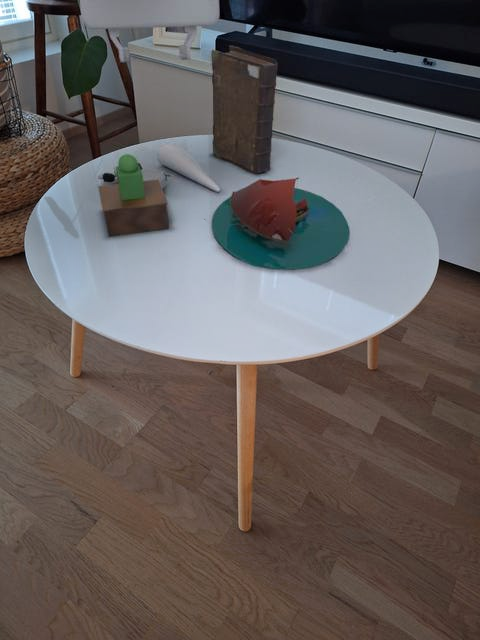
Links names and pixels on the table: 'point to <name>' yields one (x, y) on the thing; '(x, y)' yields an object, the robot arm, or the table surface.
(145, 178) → the robot toy
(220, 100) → the book
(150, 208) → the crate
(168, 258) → the table surface
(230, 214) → the boat on round base
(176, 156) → the long cone
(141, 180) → the green toy
